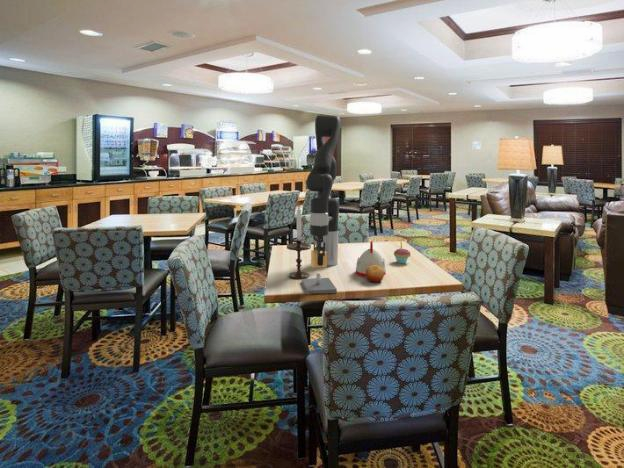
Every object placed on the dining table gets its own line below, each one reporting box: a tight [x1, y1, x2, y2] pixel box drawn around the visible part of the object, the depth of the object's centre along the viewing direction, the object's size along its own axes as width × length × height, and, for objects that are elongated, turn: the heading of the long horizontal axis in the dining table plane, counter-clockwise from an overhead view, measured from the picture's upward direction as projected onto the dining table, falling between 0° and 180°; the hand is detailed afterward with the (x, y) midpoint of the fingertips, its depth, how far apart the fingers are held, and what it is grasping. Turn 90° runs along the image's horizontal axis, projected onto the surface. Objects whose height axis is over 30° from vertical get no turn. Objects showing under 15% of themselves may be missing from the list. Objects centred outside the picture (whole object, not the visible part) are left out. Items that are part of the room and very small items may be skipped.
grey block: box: [301, 272, 338, 294], centre depth 181 cm, size 16×12×6 cm
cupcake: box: [393, 239, 412, 264], centre depth 221 cm, size 9×8×12 cm
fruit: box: [365, 265, 385, 283], centre depth 190 cm, size 8×8×8 cm
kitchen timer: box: [355, 241, 387, 278], centre depth 201 cm, size 14×14×15 cm
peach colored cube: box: [310, 249, 327, 269], centre depth 179 cm, size 6×6×6 cm
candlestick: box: [286, 199, 312, 280], centre depth 193 cm, size 11×11×35 cm
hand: (318, 263), depth 179 cm, fingers closed on peach colored cube, 5 cm apart
